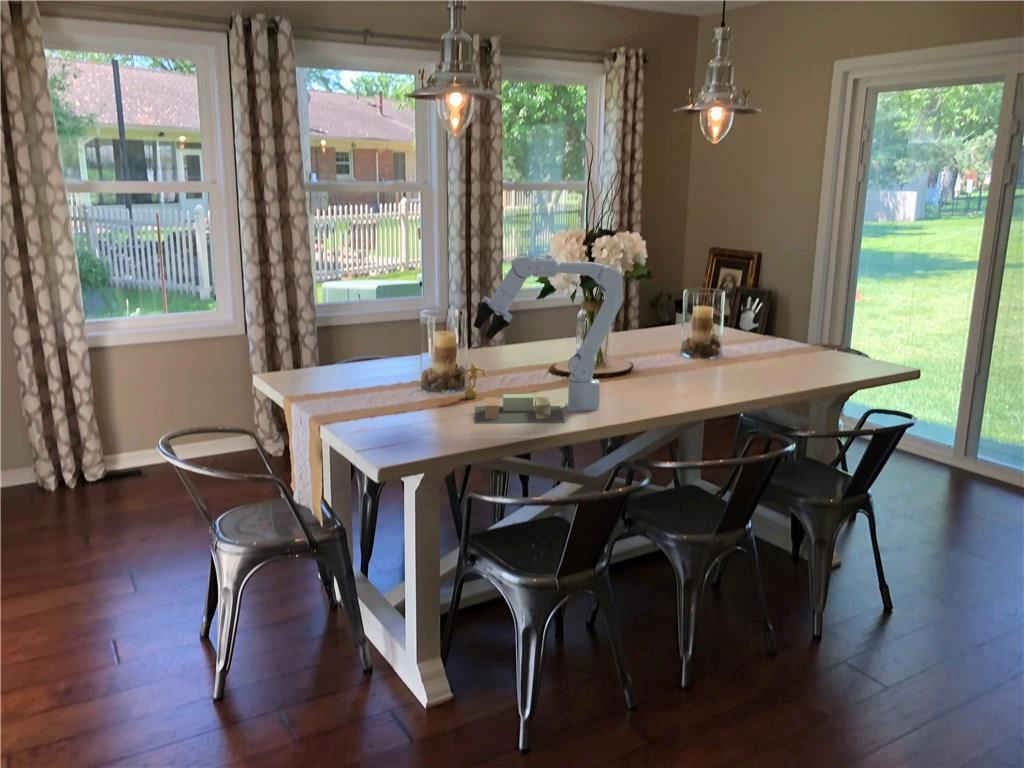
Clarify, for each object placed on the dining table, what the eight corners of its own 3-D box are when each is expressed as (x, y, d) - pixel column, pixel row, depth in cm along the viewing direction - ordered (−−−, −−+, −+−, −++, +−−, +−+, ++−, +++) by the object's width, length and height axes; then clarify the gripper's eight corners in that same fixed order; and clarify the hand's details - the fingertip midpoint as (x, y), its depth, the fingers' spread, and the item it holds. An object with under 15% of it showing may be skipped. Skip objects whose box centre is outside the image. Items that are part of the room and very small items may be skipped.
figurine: (480, 396, 268) (480, 359, 265) (488, 400, 263) (488, 363, 260) (456, 399, 264) (456, 362, 261) (464, 403, 259) (463, 366, 256)
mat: (560, 406, 256) (560, 405, 256) (565, 424, 238) (565, 422, 238) (475, 407, 255) (475, 406, 255) (474, 424, 237) (474, 423, 237)
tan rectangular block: (498, 410, 251) (498, 397, 250) (498, 418, 242) (498, 405, 241) (485, 410, 250) (484, 397, 249) (485, 419, 242) (484, 405, 241)
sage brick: (532, 406, 254) (532, 394, 253) (533, 410, 250) (533, 397, 249) (503, 407, 254) (503, 394, 253) (503, 410, 250) (503, 397, 249)
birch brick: (548, 409, 251) (548, 397, 250) (550, 418, 242) (550, 405, 241) (534, 409, 251) (534, 397, 250) (536, 418, 242) (536, 405, 241)
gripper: (485, 279, 246) (461, 318, 248) (508, 296, 235) (483, 337, 237) (501, 288, 251) (478, 326, 253) (526, 306, 240) (501, 346, 242)
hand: (482, 332), depth 245 cm, fingers open, 7 cm apart
